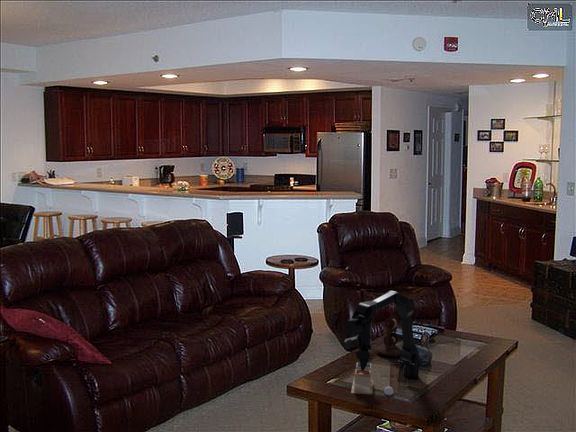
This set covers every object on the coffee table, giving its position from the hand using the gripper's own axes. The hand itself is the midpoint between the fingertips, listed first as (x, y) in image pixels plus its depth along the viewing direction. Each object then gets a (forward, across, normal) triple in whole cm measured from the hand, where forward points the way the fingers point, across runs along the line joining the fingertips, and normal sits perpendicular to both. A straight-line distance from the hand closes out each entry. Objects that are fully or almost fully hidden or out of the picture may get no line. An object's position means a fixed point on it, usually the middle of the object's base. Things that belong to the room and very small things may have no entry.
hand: (363, 367), depth 284 cm
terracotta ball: (+6, 0, +1) cm, 6 cm away
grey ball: (+11, +2, +12) cm, 16 cm away
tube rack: (+11, -4, 0) cm, 12 cm away
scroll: (+11, -56, +12) cm, 59 cm away
